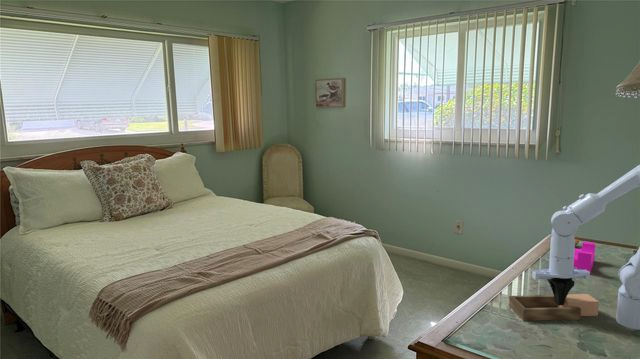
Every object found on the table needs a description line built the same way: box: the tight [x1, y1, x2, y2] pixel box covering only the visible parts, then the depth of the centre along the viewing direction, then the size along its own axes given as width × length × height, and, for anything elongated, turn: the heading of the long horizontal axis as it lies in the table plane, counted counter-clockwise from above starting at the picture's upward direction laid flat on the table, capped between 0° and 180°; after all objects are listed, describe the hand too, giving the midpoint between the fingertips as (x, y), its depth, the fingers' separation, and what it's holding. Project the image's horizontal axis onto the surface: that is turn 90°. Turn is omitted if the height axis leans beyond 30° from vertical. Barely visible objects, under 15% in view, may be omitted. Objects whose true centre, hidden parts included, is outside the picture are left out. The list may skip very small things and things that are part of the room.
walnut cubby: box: [508, 294, 582, 322], centre depth 121 cm, size 15×9×3 cm, turn 90°
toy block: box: [574, 241, 596, 274], centre depth 155 cm, size 15×6×8 cm, turn 144°
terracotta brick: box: [558, 293, 600, 317], centre depth 121 cm, size 8×5×4 cm, turn 90°
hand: (559, 303), depth 121 cm, fingers closed
